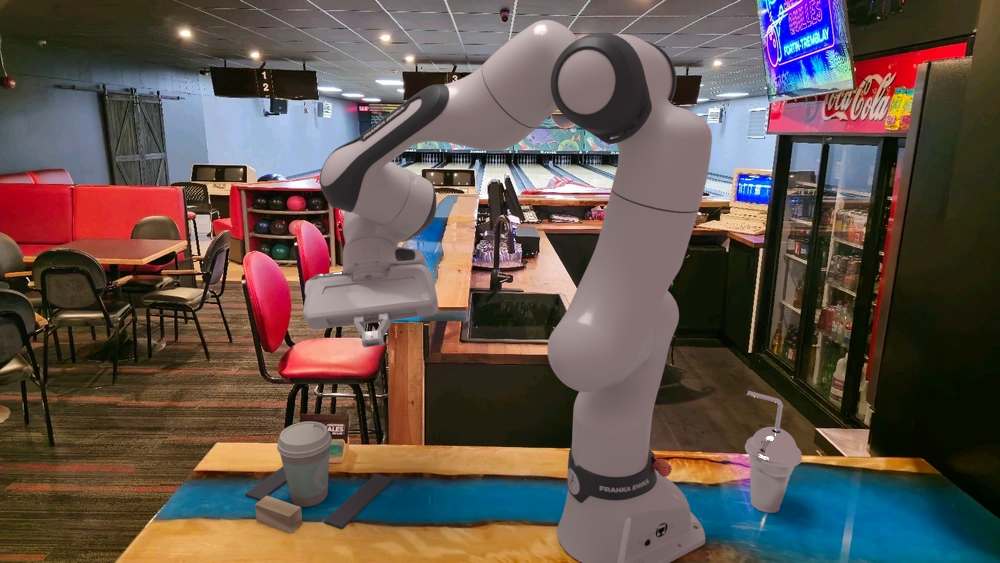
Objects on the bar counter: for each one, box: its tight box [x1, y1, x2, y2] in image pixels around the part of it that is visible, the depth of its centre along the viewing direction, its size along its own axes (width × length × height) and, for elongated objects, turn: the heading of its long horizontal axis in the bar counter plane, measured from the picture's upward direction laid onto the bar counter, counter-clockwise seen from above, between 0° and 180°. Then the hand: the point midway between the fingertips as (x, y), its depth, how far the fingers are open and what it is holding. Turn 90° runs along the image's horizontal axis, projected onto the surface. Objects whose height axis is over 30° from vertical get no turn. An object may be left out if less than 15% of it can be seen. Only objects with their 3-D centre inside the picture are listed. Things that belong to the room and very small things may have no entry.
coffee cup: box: [276, 421, 333, 508], centre depth 102 cm, size 9×8×12 cm
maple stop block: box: [254, 495, 303, 534], centre depth 97 cm, size 2×7×3 cm, turn 65°
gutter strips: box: [245, 466, 394, 530], centre depth 106 cm, size 14×20×1 cm
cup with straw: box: [744, 390, 803, 514], centre depth 100 cm, size 8×9×20 cm
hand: (372, 344), depth 91 cm, fingers closed
